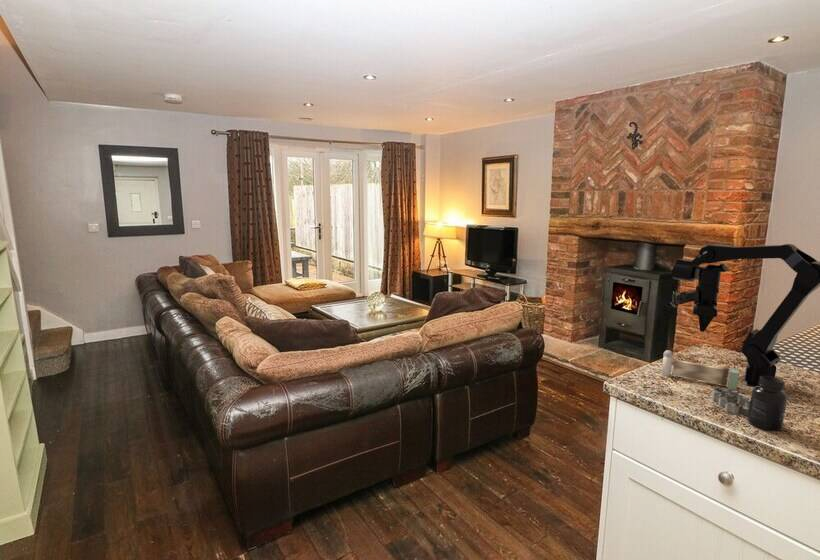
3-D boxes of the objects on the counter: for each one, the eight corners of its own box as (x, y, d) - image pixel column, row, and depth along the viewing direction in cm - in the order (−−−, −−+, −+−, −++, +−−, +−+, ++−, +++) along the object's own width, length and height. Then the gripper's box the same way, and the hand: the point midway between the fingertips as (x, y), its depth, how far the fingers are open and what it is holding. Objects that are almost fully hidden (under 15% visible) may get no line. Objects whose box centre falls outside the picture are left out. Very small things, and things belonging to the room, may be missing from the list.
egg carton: (758, 417, 117) (761, 402, 116) (725, 414, 119) (728, 399, 118) (737, 399, 127) (740, 385, 127) (707, 396, 129) (709, 383, 128)
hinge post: (670, 374, 144) (673, 350, 143) (670, 376, 142) (673, 352, 140) (661, 372, 145) (664, 348, 144) (660, 375, 143) (663, 350, 142)
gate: (672, 375, 142) (674, 359, 141) (672, 373, 143) (674, 357, 142) (726, 385, 134) (728, 369, 133) (726, 383, 136) (728, 367, 135)
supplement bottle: (788, 433, 109) (797, 386, 107) (755, 430, 110) (763, 383, 108) (772, 420, 116) (780, 375, 113) (741, 417, 117) (748, 372, 115)
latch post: (735, 386, 136) (738, 369, 135) (736, 390, 133) (738, 373, 132) (727, 384, 137) (730, 368, 136) (727, 388, 134) (730, 371, 133)
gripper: (680, 276, 157) (675, 320, 160) (677, 285, 142) (671, 334, 145) (719, 280, 151) (713, 326, 154) (720, 290, 136) (713, 340, 139)
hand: (702, 331), depth 148 cm, fingers closed
